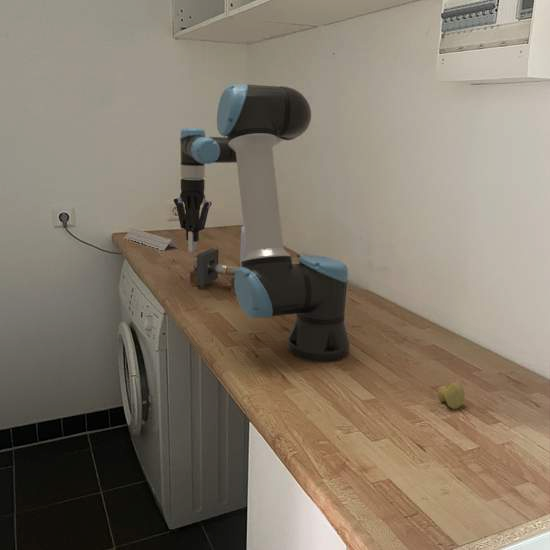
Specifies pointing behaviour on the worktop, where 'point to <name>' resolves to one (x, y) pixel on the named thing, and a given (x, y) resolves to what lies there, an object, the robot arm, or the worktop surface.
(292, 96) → the robot arm
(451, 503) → the worktop surface
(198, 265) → the collar
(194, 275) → the saddles
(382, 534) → the worktop surface
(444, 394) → the knob
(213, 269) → the pipe
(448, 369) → the worktop surface
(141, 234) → the corner bead
